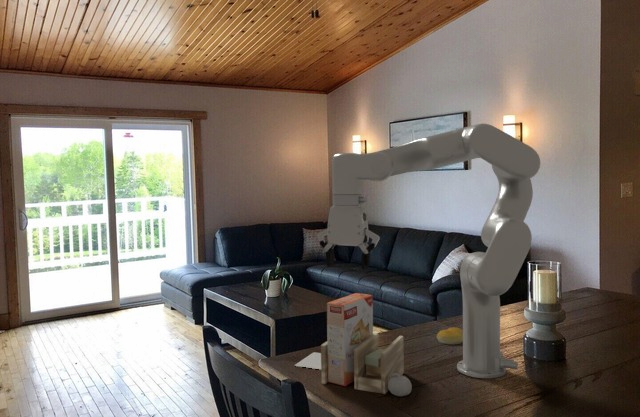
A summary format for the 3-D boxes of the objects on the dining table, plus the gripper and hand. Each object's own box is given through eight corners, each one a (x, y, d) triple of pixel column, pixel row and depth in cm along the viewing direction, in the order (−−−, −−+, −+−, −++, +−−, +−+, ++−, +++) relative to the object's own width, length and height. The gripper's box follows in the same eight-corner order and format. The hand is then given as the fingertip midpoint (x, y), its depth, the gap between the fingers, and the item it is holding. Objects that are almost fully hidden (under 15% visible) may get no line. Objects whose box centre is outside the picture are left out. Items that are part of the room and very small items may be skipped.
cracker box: (346, 387, 140) (344, 305, 138) (326, 382, 143) (324, 302, 142) (375, 370, 151) (373, 294, 149) (356, 366, 154) (354, 291, 153)
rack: (403, 373, 149) (403, 336, 148) (385, 393, 135) (384, 353, 134) (344, 364, 156) (344, 329, 155) (321, 383, 143) (320, 345, 142)
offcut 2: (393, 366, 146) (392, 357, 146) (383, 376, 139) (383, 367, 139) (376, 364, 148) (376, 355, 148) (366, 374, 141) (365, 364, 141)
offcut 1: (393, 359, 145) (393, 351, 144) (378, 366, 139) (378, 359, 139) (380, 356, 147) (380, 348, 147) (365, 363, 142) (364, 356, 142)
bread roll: (431, 340, 177) (431, 328, 176) (452, 335, 181) (452, 323, 181) (450, 347, 169) (450, 334, 169) (471, 342, 174) (471, 329, 174)
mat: (344, 357, 162) (344, 356, 162) (326, 371, 151) (326, 370, 151) (313, 353, 166) (313, 352, 166) (294, 366, 156) (294, 365, 156)
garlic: (383, 396, 134) (382, 374, 134) (393, 388, 139) (392, 367, 138) (406, 401, 131) (405, 379, 130) (415, 393, 135) (415, 372, 135)
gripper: (383, 201, 143) (384, 267, 145) (323, 200, 151) (323, 263, 152) (373, 202, 137) (374, 272, 138) (310, 201, 144) (311, 267, 145)
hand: (347, 267), depth 145 cm, fingers open, 9 cm apart
